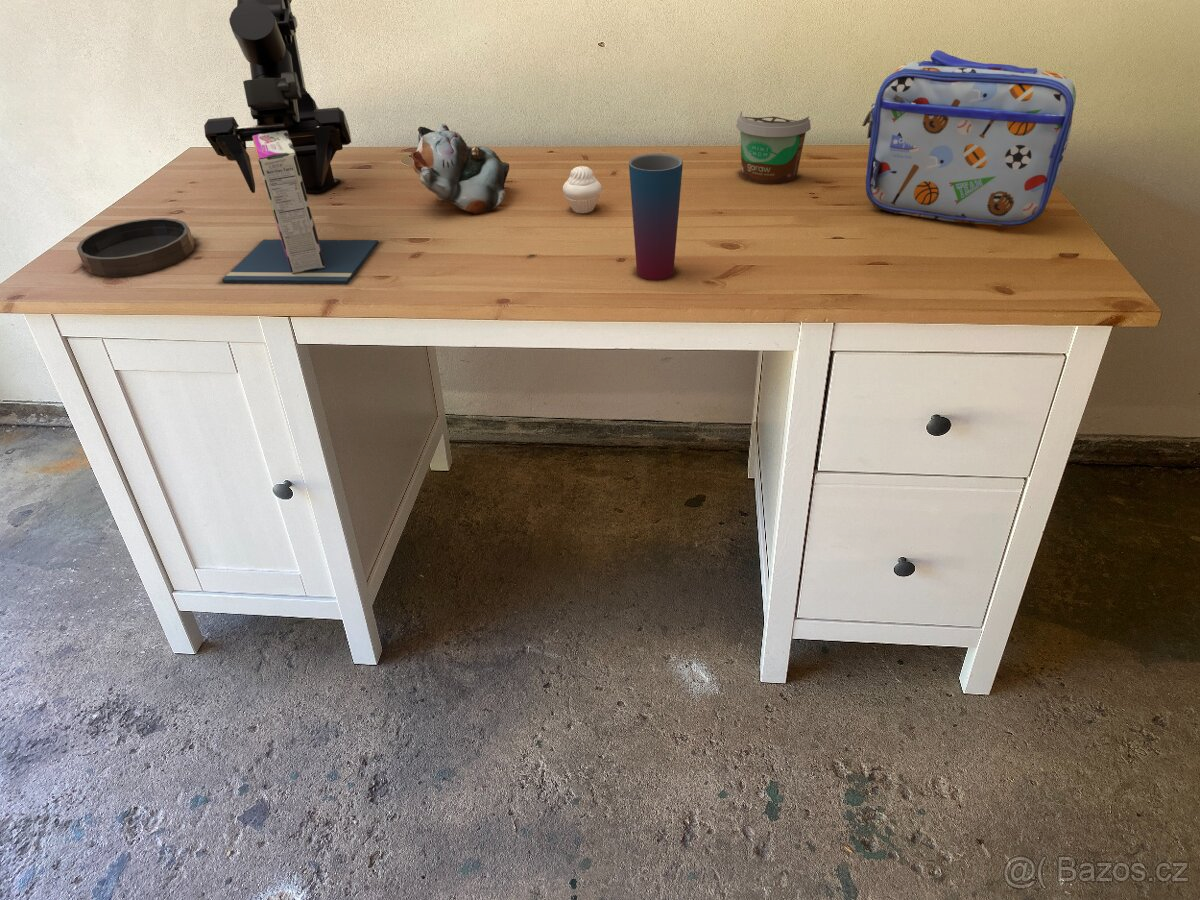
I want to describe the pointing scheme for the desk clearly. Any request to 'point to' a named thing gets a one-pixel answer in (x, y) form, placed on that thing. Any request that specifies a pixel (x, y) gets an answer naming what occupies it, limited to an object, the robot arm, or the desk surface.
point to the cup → (655, 212)
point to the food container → (771, 147)
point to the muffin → (582, 190)
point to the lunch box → (968, 140)
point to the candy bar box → (288, 201)
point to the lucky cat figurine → (459, 170)
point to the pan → (136, 247)
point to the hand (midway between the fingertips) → (286, 188)
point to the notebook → (274, 268)
